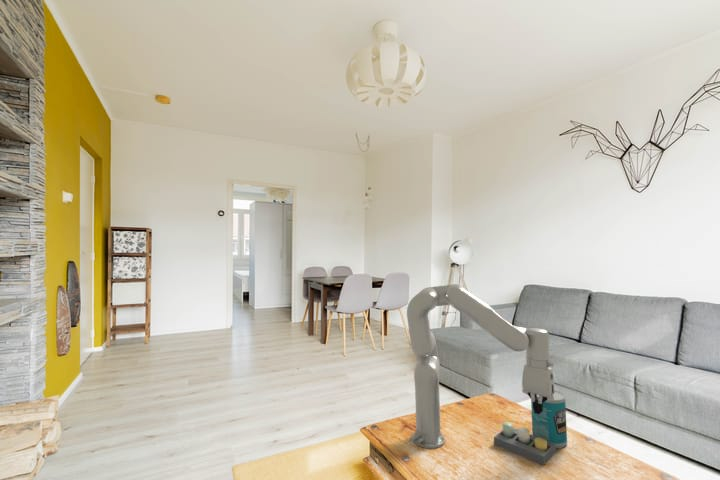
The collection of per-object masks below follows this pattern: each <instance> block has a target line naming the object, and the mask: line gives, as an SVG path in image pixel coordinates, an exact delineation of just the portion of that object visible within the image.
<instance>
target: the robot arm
mask: <svg viewBox="0 0 720 480" xmlns="http://www.w3.org/2000/svg"><path fill="white" fill-rule="evenodd" d="M442 306H451V307H452V308H453V309H455V310H456V311H458V312H459V313H460V314H463V315H464V316H465V317H466V318H468V319H469V320H470V321H472V322H473V323H475V324H476V325H477V326H478V327H480V328H481V329H483V330H484V331H486V332H487V333H488V334H490V335H491V336H492V337H493V338H495V339H496V340H498V342H500V343H501V344H503V345H505V346H506V347H507V348H509V349H510V350H512V351H515V352H523V351H525V356H526V357H525V360H526V361H525V363H524V366H523V371H522V378H521V386H522V388H521V389H522V391H521V392H522V394H525V395H527V396H528V398H530V401H531V400H532V402H533V410H534V413H535V414H536V413H537V414H538V415H539V414H540V413H541V412H543V402H545V401H553V400H554V396H553V394H554V392H555V391H556V390H555V380H554V379H555V378H554V373H553V369H552V367H554V363H553V362H552V361H551V360H550V351H549V350H550V349H549V348H550V345H549V344H550V342H549V341H550V339H549V337H550V336H549V335H550V334H549V332H548V331H547V330H546V329H543V328H540V327H539V328H537V327H525V326H524V327H523V326H518V325H513V324H511V323H509V322H508V321H507V320H506V319H504V318H503V317H501V316H500V315H499V314H498V313H497V312H496V311H495V310H494V309H493V307H491V306H490V305H489V304H487V303H485V302H484V301H482V300H481V299H480V298H478V297H476V296H475V295H474V294H472V293H471V292H469V291H468V290H466V289H465V287H464V286H462V285H460V284H458V283H455V284H446V285H445V284H444V285H437V286H429V287H425V288H423V289H422V290H420V291H419V292H418V293H417V294H415V295H414V296H413V297H412V298H411V299H410V301H409V303H408V305H407V307H406V319H407V324H408V332H409V338H410V347H411V350H412V352H413V353H414V354H415V357H416V365H415V368H414V372H413V373H414V374H413V377H414V378H413V380H414V393H415V424H416V425H415V426H416V427H415V431H414V432H413V433H412V436H411V437H409V442H410V443H411V444H416V446H417V445H418V446H419V447H421V448H425V449H438V448H440V447H442V446H443V445H444V444H445V441H446V439H445V436H444V435H443V434H442V433H441V412H440V411H441V405H440V404H441V403H440V401H441V400H440V370H441V368H440V367H441V365H440V364H441V363H440V358H439V353H438V347H437V341H436V337H435V334H434V333H433V332H432V331H431V328H430V321H429V313H430V312H431V311H432V310H434V309H435V308H436V307H442ZM537 395H539V400H538V398H537Z"/></svg>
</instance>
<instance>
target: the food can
mask: <svg viewBox="0 0 720 480" xmlns="http://www.w3.org/2000/svg"><path fill="white" fill-rule="evenodd" d="M553 396H554V400H553V401H545V402H543V412H541V413H540V414H539V415H538V414H537V413H536V414H535V413H534V410H533V402H532V400H531V399H530V404H531V405H530V406H531V427H532V432H531V433H532V434H531V435H534V436H537V437H539V438H543V439H545V440H548V441H551V442H554V443H555V447H556V449H563V448H565V447H566V446H567V444H568V434H567V433H568V432H567V431H568V430H567V407H566V396H565V394H563V393H562V392H560V391H557V390H555V392H554V394H553ZM537 398H538V400H539V395H537Z"/></svg>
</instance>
